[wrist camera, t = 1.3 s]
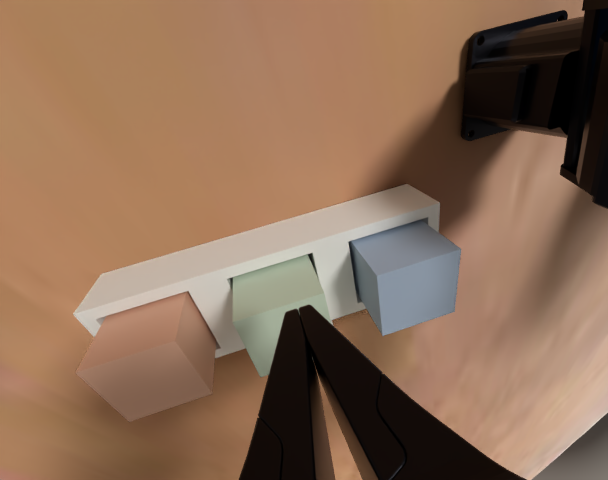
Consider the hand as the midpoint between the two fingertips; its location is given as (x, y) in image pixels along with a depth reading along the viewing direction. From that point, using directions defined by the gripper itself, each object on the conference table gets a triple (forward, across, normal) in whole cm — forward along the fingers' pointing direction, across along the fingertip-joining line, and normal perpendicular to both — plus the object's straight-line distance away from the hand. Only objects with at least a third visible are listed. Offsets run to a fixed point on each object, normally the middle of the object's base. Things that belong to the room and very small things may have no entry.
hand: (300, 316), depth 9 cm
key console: (+12, +1, +6) cm, 13 cm away
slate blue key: (+10, -7, +6) cm, 13 cm away
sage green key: (+9, +1, +6) cm, 11 cm away
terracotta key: (+9, +9, +6) cm, 14 cm away
